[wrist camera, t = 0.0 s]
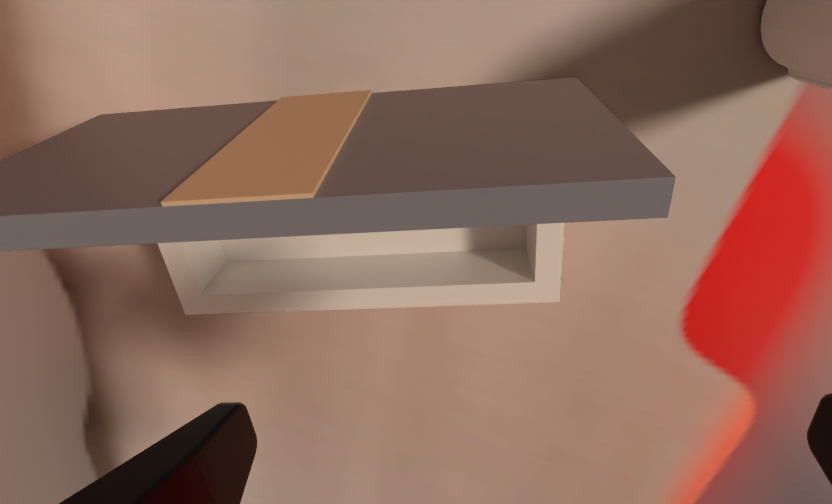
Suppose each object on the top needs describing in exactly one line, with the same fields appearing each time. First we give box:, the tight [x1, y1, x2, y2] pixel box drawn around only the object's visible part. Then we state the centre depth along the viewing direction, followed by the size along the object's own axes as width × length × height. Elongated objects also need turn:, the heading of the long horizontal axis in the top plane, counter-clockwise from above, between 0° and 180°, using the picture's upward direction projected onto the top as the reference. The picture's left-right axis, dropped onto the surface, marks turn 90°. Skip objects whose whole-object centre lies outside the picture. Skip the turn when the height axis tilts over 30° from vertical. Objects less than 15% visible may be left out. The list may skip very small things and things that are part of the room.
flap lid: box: [0, 77, 675, 251], centre depth 13 cm, size 8×16×1 cm
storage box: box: [158, 223, 564, 315], centre depth 20 cm, size 8×16×4 cm, turn 95°
